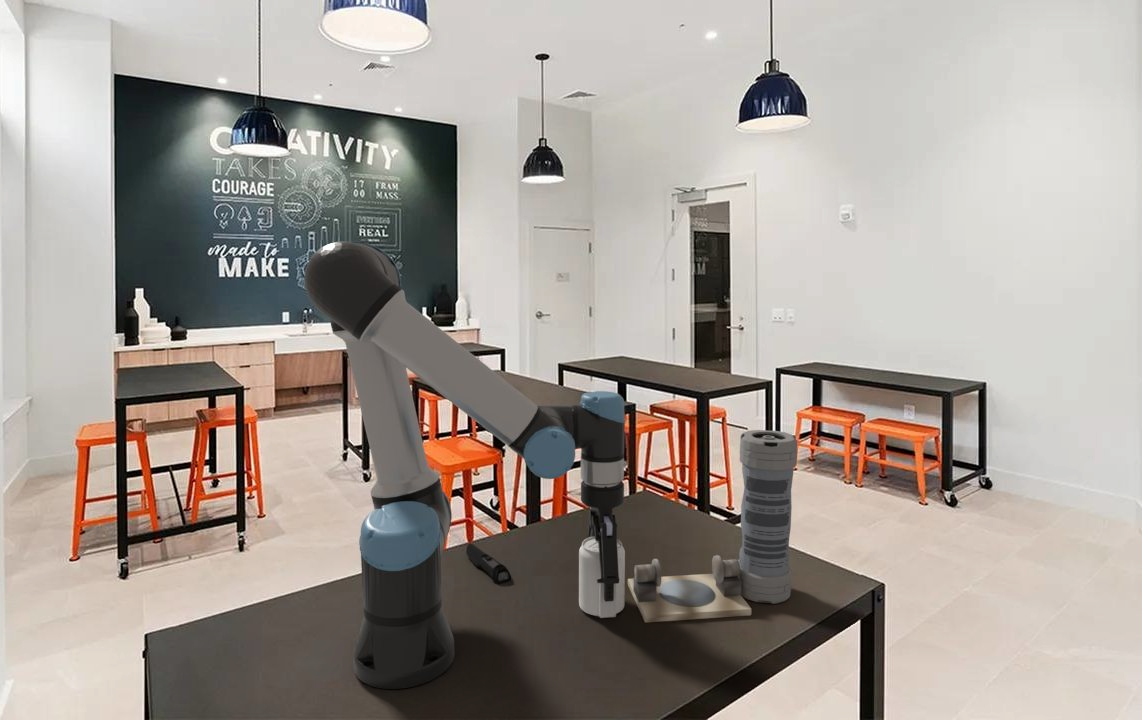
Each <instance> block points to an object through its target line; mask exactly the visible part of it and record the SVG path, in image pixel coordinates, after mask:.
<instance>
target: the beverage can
mask: <svg viewBox="0 0 1142 720" xmlns="http://www.w3.org/2000/svg"><path fill="white" fill-rule="evenodd" d="M617 554H618V572H619V583H616V615H617V614H618V613H620V612H622V611H623V610H624V608H625V593H626V592H625V590H626V589H625V587H626V586H625V585H626V583H625V580H626V578H625V576H626V575H625V574H626V571H625V570H626V551H625V548H624V547H623V543H622V541H621V540H620V539H619V538H617ZM597 579H601V570H600V558H599V546H598V542H597V541H596V540H595V536H594V537H589V538H585V539H584V540H583V541H581V546H580V548H579V550H578V606H579V607H580V609H581V610H582V611H583V612H584V613H585V614H588V615H591V616H595V617H600V616H599V591H600V583H597Z"/></svg>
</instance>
